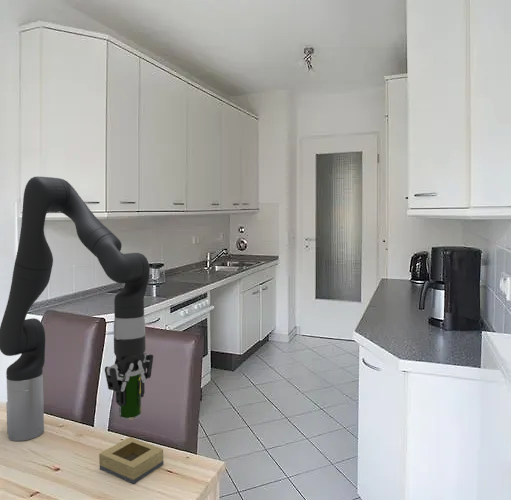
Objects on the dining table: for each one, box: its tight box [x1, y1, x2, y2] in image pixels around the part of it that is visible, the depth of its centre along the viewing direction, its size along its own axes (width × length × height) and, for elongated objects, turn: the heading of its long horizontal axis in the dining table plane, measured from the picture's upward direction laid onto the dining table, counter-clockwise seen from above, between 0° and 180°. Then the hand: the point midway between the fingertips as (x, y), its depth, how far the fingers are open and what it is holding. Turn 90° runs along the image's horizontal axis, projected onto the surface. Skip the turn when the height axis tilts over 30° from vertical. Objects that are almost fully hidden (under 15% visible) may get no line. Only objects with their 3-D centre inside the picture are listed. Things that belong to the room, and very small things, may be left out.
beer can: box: [118, 369, 142, 421], centre depth 110 cm, size 5×5×12 cm
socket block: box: [98, 436, 164, 485], centre depth 111 cm, size 12×10×4 cm
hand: (130, 400), depth 110 cm, fingers closed on beer can, 5 cm apart
